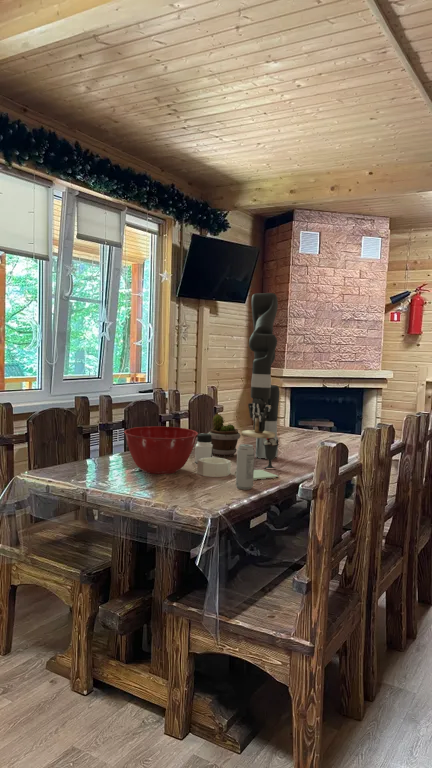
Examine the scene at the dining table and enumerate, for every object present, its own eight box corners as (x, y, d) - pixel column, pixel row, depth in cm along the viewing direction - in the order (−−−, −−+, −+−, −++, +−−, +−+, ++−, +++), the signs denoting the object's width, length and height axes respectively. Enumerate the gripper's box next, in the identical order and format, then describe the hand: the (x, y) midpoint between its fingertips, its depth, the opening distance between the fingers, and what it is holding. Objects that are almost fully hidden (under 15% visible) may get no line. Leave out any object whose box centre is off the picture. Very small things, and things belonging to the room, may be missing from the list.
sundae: (259, 468, 226) (261, 432, 226) (265, 466, 232) (267, 430, 232) (274, 470, 223) (276, 434, 222) (280, 468, 229) (282, 432, 228)
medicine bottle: (211, 463, 233) (212, 435, 232) (194, 462, 233) (195, 434, 232) (212, 460, 240) (213, 433, 239) (195, 459, 240) (196, 432, 239)
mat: (261, 471, 221) (261, 469, 221) (278, 478, 210) (278, 475, 210) (235, 473, 215) (235, 471, 215) (252, 480, 205) (252, 478, 205)
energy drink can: (242, 484, 197) (244, 443, 196) (256, 488, 193) (258, 445, 192) (232, 487, 192) (234, 444, 191) (246, 490, 188) (248, 447, 187)
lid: (263, 432, 221) (263, 416, 220) (282, 437, 209) (283, 420, 209) (235, 433, 214) (236, 416, 214) (253, 438, 203) (254, 420, 203)
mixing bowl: (185, 481, 198) (187, 439, 197) (111, 474, 204) (112, 433, 203) (203, 466, 226) (205, 429, 225) (137, 461, 231) (138, 424, 231)
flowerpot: (245, 455, 256) (247, 412, 255) (228, 459, 243) (230, 414, 242) (218, 450, 264) (220, 409, 263) (200, 455, 251) (202, 411, 250)
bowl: (219, 469, 222) (220, 456, 222) (234, 475, 212) (235, 462, 211) (193, 471, 216) (193, 458, 216) (207, 477, 206) (207, 464, 205)
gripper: (279, 387, 207) (277, 433, 208) (259, 384, 219) (256, 428, 220) (263, 387, 203) (260, 433, 204) (242, 384, 215) (240, 428, 216)
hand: (258, 430), depth 212 cm, fingers closed on lid, 3 cm apart
